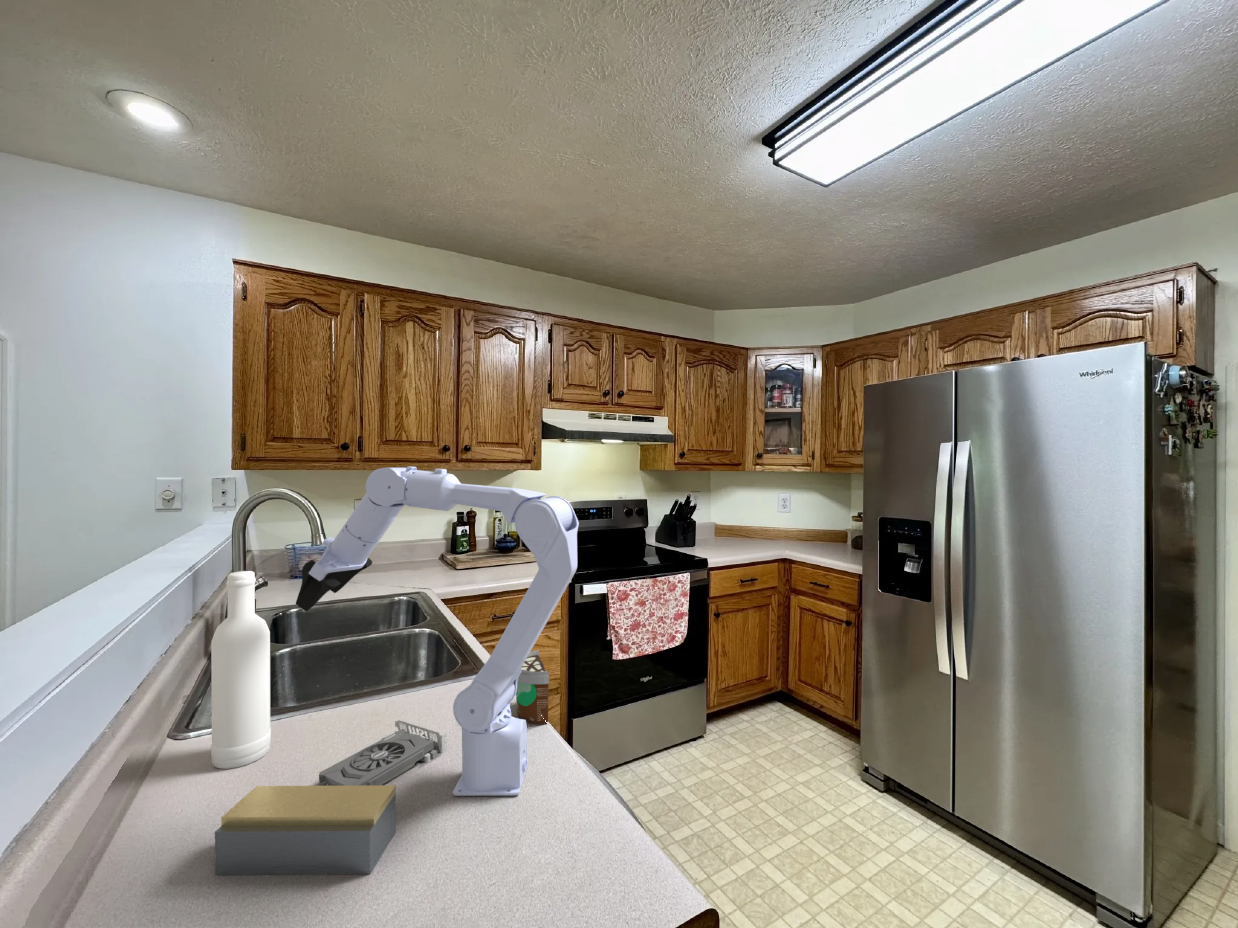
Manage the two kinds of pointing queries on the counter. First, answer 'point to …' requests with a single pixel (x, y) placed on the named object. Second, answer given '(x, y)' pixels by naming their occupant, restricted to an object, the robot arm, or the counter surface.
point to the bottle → (240, 679)
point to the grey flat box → (306, 830)
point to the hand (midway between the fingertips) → (317, 597)
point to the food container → (533, 691)
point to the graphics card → (386, 758)
